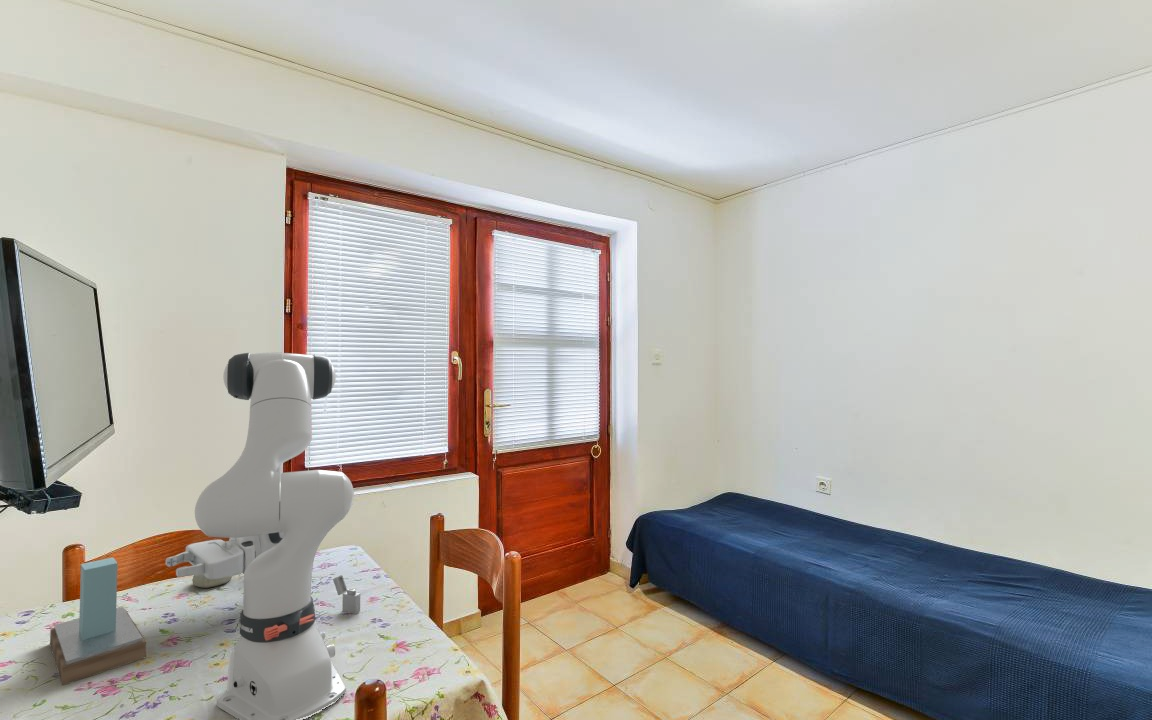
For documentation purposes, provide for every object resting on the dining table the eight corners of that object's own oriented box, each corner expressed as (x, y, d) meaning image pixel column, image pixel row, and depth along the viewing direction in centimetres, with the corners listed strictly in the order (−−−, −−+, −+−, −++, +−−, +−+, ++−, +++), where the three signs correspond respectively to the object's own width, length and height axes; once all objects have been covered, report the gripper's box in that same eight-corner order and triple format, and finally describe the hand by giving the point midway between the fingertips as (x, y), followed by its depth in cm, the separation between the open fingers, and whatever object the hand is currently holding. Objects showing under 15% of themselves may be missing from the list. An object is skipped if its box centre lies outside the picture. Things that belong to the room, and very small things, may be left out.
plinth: (145, 657, 103) (146, 637, 103) (61, 685, 93) (62, 663, 93) (124, 622, 117) (125, 605, 117) (49, 644, 107) (50, 625, 107)
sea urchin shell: (199, 586, 132) (193, 559, 136) (193, 602, 135) (187, 575, 139) (239, 575, 139) (232, 550, 143) (232, 590, 142) (226, 565, 146)
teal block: (115, 630, 105) (117, 562, 106) (82, 640, 102) (84, 570, 102) (111, 622, 109) (113, 557, 109) (79, 631, 105) (81, 563, 105)
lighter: (360, 611, 123) (361, 578, 123) (355, 614, 121) (355, 580, 121) (337, 606, 125) (338, 574, 125) (332, 609, 124) (332, 576, 124)
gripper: (227, 530, 132) (160, 543, 121) (256, 547, 119) (183, 564, 108) (227, 554, 132) (160, 570, 121) (255, 574, 119) (182, 594, 108)
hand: (171, 567), depth 115 cm, fingers open, 8 cm apart
